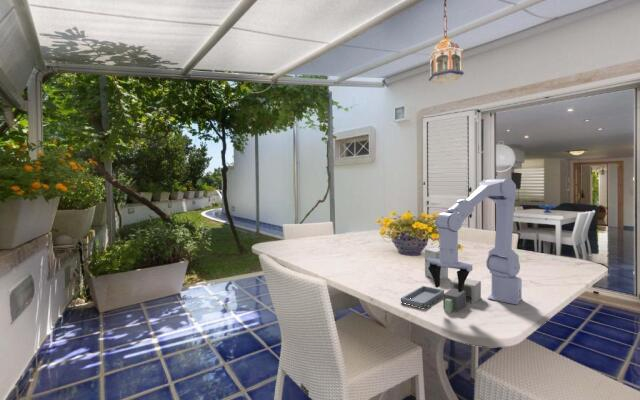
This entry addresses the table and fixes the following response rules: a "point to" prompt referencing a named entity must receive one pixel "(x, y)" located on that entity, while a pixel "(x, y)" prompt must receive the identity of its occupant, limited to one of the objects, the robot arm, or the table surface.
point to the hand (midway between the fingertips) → (448, 289)
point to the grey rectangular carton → (454, 300)
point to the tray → (422, 296)
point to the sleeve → (469, 288)
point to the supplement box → (434, 254)
